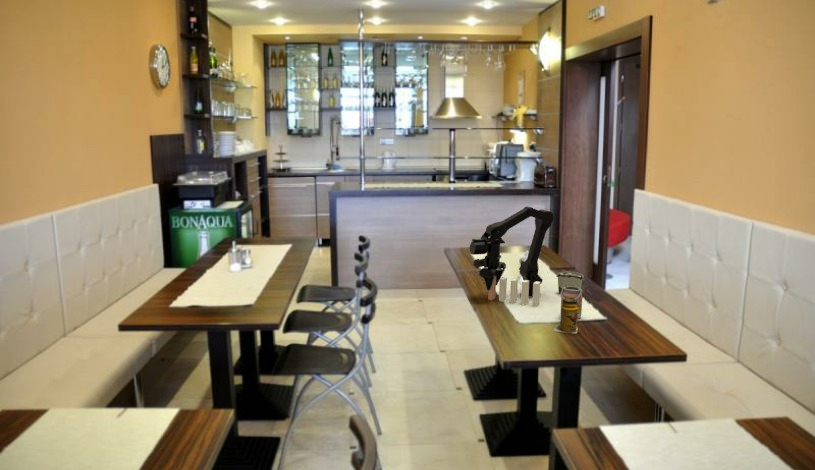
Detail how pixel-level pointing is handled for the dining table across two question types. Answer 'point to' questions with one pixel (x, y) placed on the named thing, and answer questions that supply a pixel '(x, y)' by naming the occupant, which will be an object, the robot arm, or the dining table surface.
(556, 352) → the dining table surface
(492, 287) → the domino
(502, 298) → the domino
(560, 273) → the food container
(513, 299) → the domino
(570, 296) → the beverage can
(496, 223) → the robot arm
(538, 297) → the domino
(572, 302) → the condiment
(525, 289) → the domino
